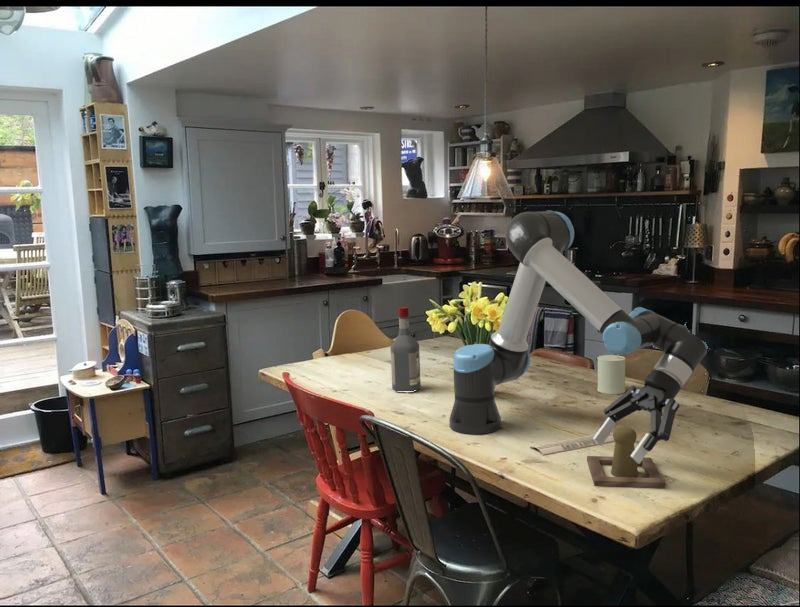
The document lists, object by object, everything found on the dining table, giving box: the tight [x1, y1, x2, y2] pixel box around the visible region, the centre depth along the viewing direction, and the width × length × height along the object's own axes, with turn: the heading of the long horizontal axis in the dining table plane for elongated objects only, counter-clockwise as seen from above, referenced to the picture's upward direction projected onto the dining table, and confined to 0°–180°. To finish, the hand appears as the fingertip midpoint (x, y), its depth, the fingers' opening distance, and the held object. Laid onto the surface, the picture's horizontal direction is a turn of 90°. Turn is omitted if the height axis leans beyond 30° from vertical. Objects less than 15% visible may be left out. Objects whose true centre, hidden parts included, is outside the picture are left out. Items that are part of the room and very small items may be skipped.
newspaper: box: [529, 433, 615, 456], centre depth 169 cm, size 24×7×2 cm, turn 111°
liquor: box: [390, 306, 422, 391], centre depth 228 cm, size 9×9×30 cm
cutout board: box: [586, 455, 666, 489], centre depth 149 cm, size 15×15×1 cm
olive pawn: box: [610, 426, 639, 478], centre depth 148 cm, size 6×6×11 cm
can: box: [596, 354, 627, 395], centre depth 218 cm, size 9×9×12 cm
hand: (615, 450), depth 148 cm, fingers open, 12 cm apart
